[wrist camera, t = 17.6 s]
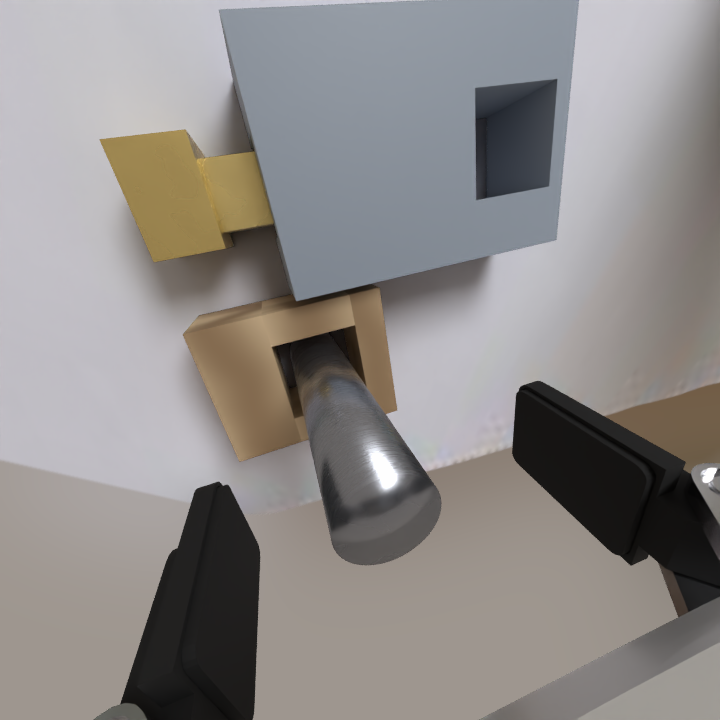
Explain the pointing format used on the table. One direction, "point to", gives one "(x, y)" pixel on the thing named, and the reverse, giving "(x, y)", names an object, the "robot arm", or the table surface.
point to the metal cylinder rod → (360, 460)
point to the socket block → (403, 130)
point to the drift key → (187, 192)
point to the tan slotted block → (264, 368)
